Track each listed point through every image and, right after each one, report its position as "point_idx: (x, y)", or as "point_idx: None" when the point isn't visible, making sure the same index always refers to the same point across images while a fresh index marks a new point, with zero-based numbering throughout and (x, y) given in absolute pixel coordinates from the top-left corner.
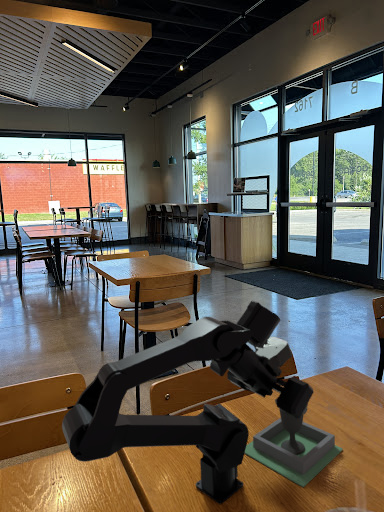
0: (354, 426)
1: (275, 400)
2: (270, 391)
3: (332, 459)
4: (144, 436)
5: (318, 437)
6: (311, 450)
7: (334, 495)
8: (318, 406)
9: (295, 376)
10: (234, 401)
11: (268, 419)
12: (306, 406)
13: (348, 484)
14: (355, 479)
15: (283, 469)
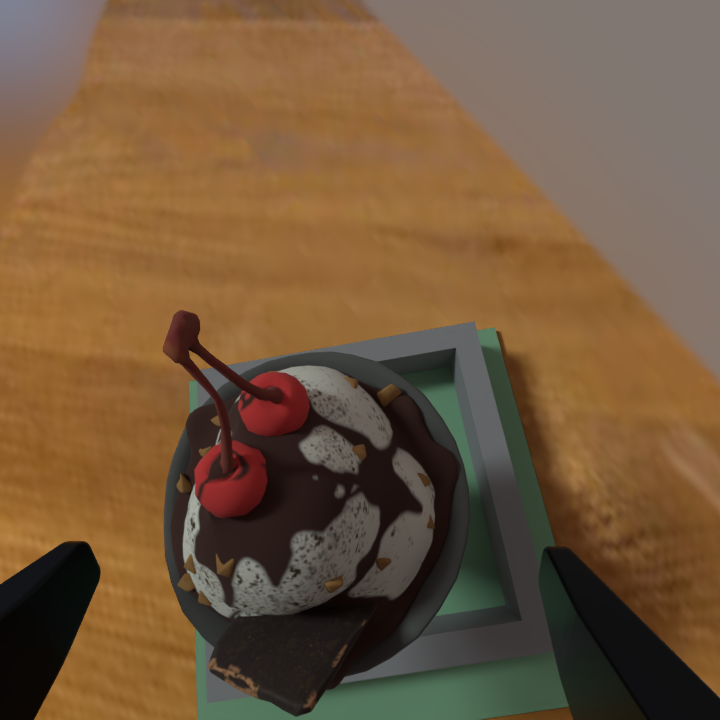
0: (412, 177)
1: (187, 608)
2: (65, 590)
3: (517, 416)
4: None
5: (404, 367)
6: (501, 517)
7: (703, 612)
8: (230, 178)
9: (192, 319)
10: None
11: (134, 416)
12: (451, 445)
13: (673, 496)
14: (662, 444)
15: (454, 684)
